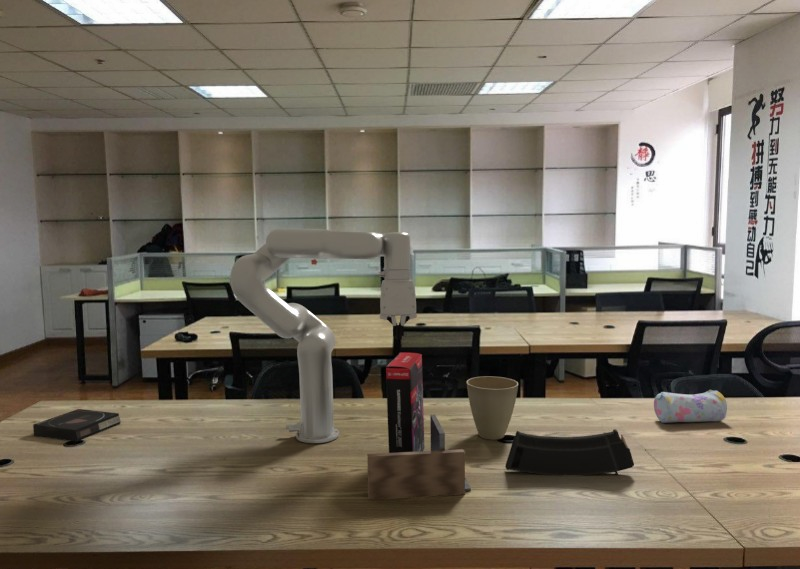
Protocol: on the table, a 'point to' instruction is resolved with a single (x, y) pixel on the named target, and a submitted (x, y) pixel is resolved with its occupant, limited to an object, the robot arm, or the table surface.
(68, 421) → the portable cd player
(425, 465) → the shelf lip
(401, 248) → the robot arm
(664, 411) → the pencil case
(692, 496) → the table surface
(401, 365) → the graphics card box
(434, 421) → the bookend
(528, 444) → the black curved panel
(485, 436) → the plant pot
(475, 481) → the table surface
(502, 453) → the table surface
